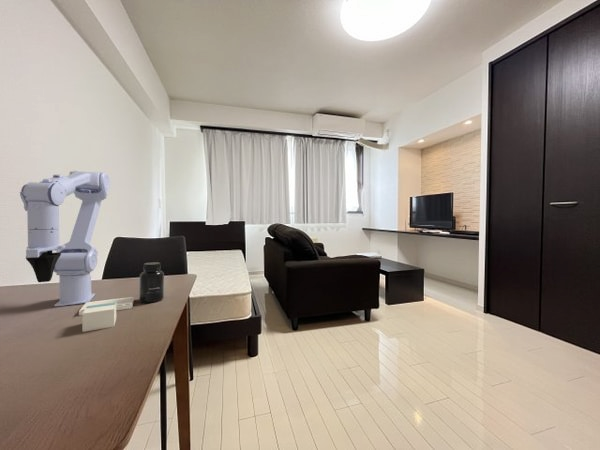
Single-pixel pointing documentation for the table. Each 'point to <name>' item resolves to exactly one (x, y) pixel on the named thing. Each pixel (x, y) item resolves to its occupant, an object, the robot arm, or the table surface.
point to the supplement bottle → (151, 283)
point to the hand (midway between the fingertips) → (44, 281)
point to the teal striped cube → (99, 316)
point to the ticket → (120, 303)
